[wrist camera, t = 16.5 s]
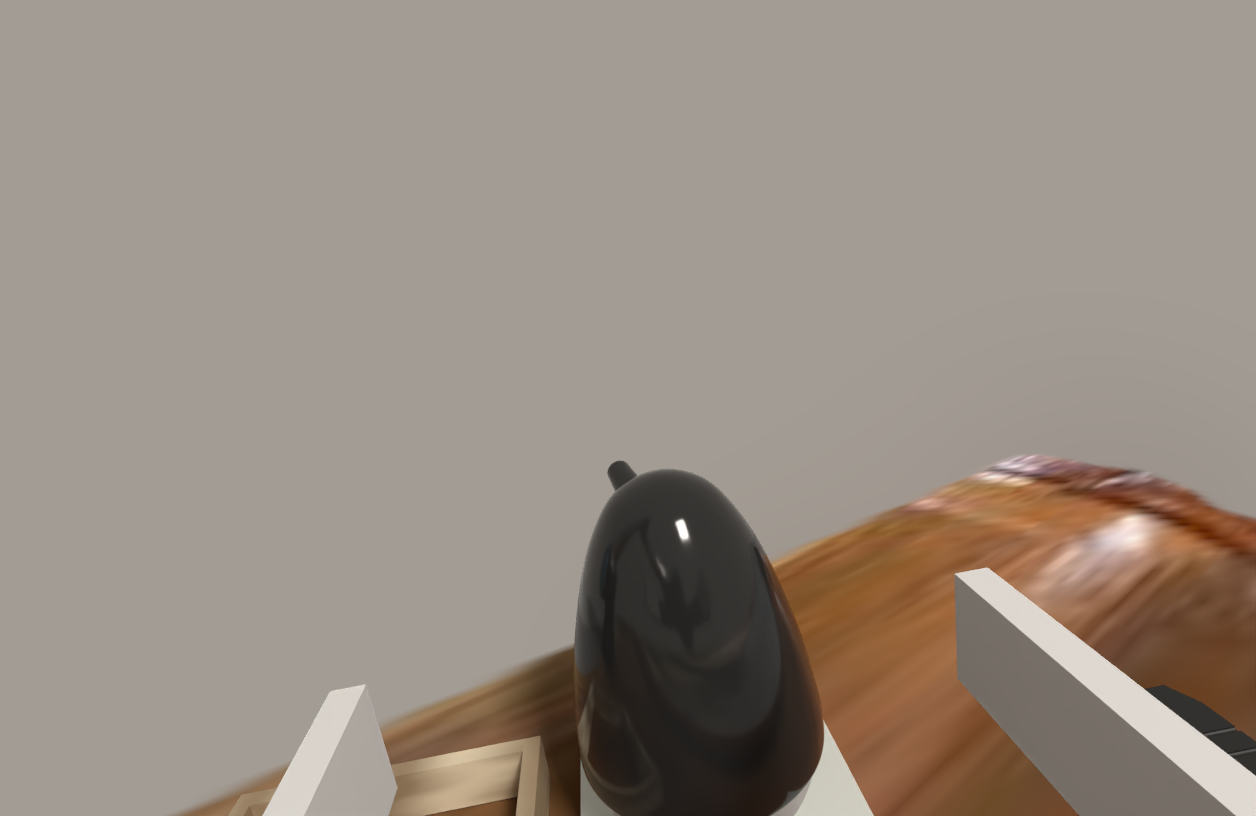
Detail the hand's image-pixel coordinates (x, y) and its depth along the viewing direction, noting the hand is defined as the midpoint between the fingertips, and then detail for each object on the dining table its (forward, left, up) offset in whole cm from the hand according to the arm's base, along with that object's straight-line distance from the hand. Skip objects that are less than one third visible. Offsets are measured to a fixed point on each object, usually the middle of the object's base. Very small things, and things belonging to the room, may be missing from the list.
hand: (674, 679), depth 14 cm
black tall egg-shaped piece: (+1, +11, -15) cm, 18 cm away
